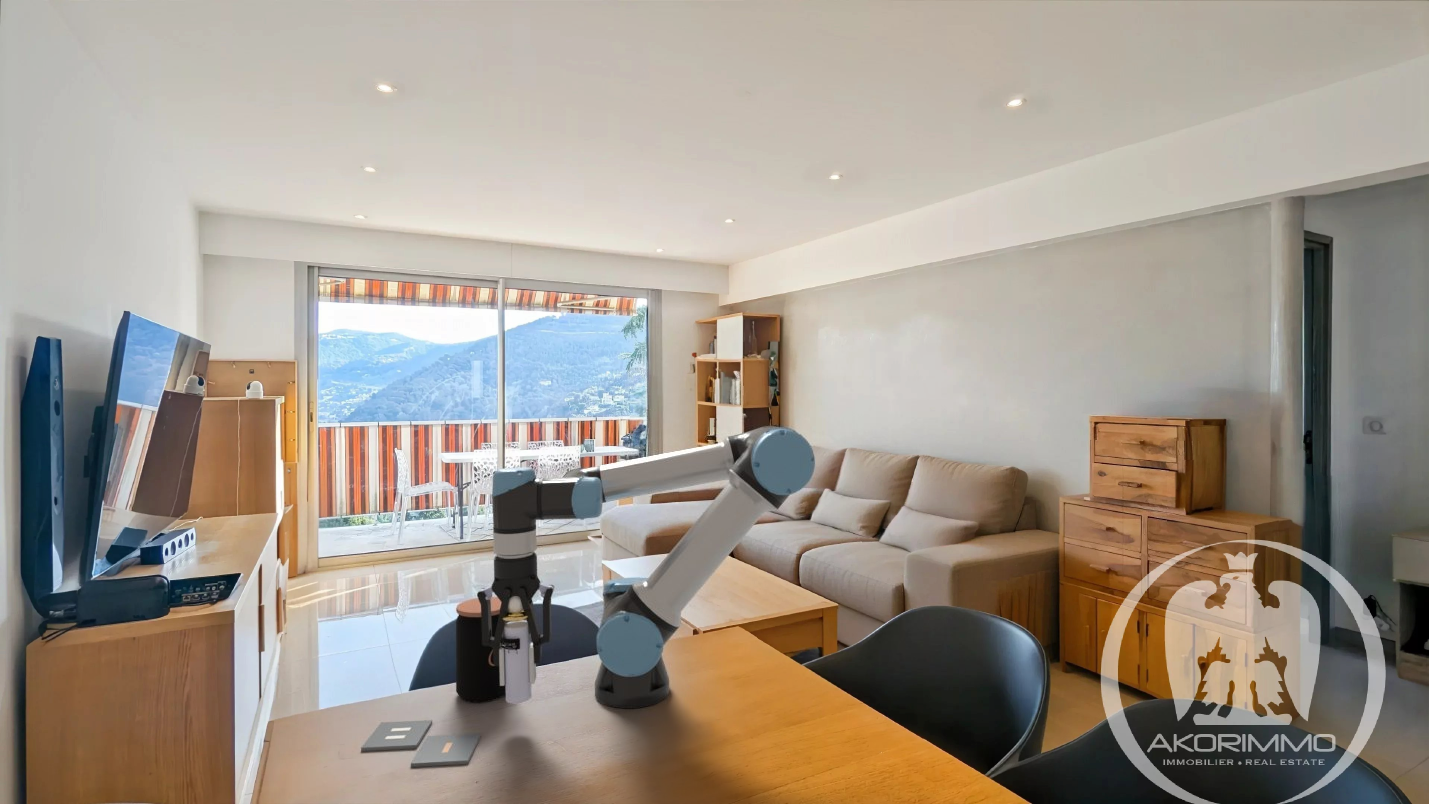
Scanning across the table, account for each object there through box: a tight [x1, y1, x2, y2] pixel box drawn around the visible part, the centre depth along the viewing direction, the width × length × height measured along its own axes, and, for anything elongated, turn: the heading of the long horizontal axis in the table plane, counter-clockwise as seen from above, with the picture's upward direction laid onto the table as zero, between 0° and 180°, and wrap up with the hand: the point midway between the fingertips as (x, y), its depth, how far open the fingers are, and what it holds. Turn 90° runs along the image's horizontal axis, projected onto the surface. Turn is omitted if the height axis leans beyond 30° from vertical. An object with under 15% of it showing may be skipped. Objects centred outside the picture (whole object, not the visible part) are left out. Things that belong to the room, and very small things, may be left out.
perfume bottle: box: [501, 596, 533, 704], centre depth 124 cm, size 6×6×20 cm
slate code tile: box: [360, 719, 433, 752], centre depth 121 cm, size 9×9×1 cm
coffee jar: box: [455, 596, 508, 704], centre depth 139 cm, size 11×11×18 cm
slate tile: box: [410, 732, 482, 768], centre depth 116 cm, size 9×9×1 cm
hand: (518, 681), depth 124 cm, fingers closed on perfume bottle, 4 cm apart
